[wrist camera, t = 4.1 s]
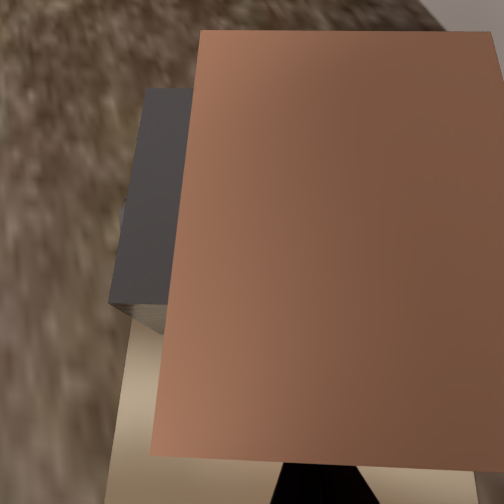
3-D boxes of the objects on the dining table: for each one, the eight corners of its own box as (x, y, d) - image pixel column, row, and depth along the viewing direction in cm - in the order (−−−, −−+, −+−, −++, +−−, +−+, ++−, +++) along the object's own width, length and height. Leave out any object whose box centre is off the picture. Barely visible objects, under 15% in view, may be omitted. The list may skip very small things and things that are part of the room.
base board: (487, 624, 13) (498, 634, 13) (95, 599, 14) (87, 607, 13) (421, 163, 20) (426, 156, 19) (160, 158, 21) (157, 152, 20)
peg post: (347, 416, 15) (605, 477, 4) (233, 411, 15) (149, 455, 4) (340, 271, 17) (490, 32, 6) (240, 268, 17) (200, 30, 6)
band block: (446, 344, 16) (545, 317, 10) (137, 333, 17) (74, 301, 11) (423, 182, 19) (491, 91, 13) (160, 176, 19) (119, 87, 14)
